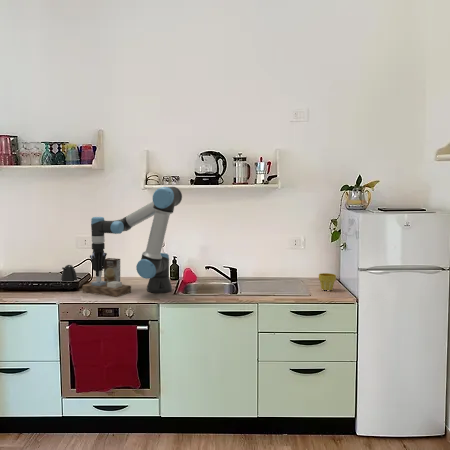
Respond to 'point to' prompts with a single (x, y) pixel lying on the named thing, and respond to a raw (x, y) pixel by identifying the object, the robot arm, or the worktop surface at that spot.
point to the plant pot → (327, 281)
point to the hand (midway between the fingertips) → (98, 281)
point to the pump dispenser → (68, 273)
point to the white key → (114, 284)
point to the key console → (106, 290)
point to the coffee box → (112, 270)
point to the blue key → (99, 283)
